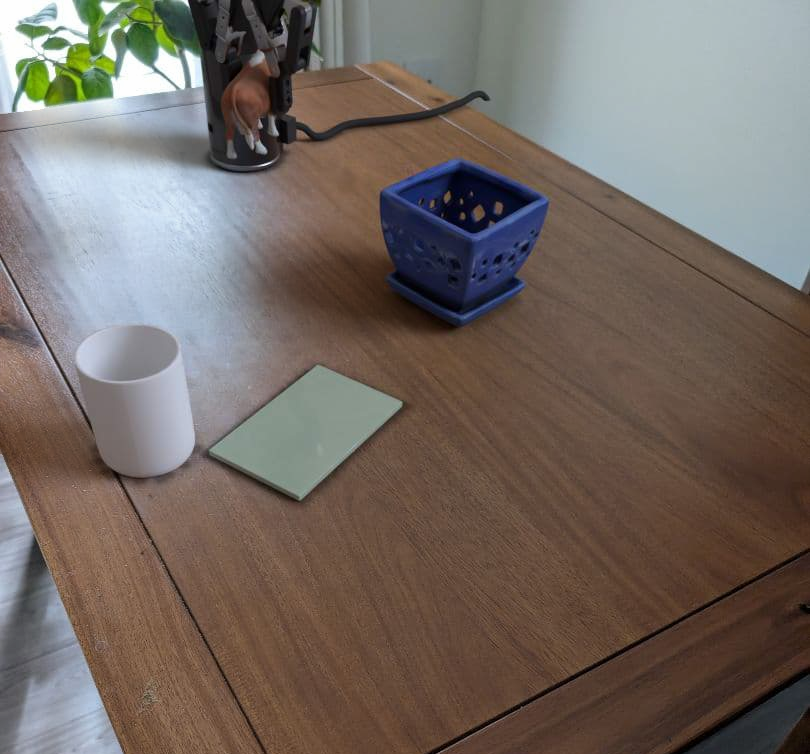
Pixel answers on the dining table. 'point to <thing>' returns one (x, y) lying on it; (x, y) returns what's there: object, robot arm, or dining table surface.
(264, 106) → the bull figurine
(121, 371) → the cup
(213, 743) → the dining table surface
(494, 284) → the flower pot
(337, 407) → the tile
